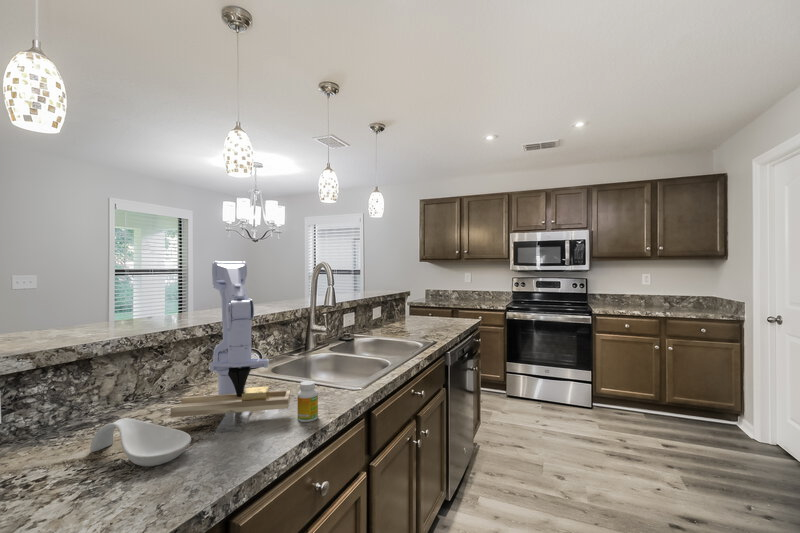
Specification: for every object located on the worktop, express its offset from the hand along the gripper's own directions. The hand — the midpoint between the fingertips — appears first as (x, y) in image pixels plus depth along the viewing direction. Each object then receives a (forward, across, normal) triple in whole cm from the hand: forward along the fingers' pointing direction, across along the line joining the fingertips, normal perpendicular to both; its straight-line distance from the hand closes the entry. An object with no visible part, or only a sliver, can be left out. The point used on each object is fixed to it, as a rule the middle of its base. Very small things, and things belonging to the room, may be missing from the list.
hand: (240, 395), depth 97 cm
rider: (+2, +4, 0) cm, 4 cm away
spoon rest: (+8, -18, -14) cm, 24 cm away
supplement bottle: (+7, +18, -2) cm, 19 cm away
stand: (+7, -1, 0) cm, 7 cm away
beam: (+3, -1, 0) cm, 3 cm away
